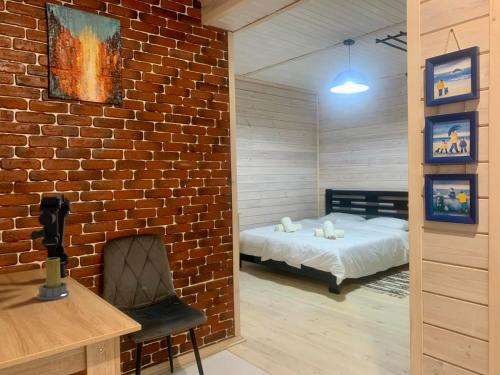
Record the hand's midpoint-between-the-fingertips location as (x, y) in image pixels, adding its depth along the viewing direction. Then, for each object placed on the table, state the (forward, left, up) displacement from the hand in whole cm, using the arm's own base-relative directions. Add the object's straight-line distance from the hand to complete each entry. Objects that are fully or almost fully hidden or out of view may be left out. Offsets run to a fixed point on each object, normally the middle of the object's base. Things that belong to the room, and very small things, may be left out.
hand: (51, 256), depth 177 cm
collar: (+13, +14, -13) cm, 23 cm away
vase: (+13, +14, -12) cm, 22 cm away
